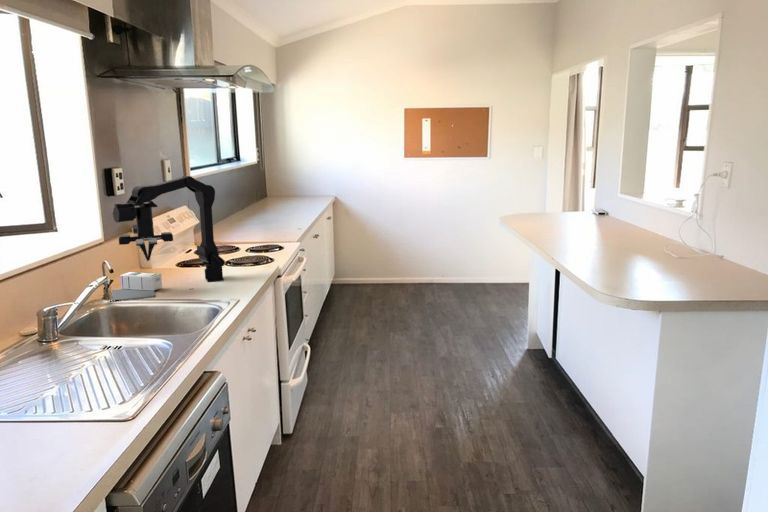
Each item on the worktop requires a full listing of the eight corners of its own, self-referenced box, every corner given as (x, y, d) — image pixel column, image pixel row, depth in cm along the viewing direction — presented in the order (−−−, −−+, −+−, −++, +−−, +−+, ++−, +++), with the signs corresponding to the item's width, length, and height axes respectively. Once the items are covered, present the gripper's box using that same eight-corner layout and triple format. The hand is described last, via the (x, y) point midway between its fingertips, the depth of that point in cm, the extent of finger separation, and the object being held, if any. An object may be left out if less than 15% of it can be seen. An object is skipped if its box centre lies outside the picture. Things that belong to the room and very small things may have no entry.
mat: (153, 287, 221) (153, 285, 221) (155, 297, 207) (155, 295, 207) (108, 291, 215) (108, 290, 215) (107, 302, 201) (107, 300, 201)
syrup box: (152, 276, 212) (119, 274, 215) (153, 291, 213) (120, 288, 216) (161, 273, 218) (129, 271, 220) (162, 288, 219) (130, 285, 222)
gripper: (169, 216, 219) (172, 254, 222) (117, 218, 212) (121, 258, 215) (171, 219, 209) (174, 259, 212) (116, 222, 202) (121, 264, 205)
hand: (148, 260), depth 211 cm, fingers closed
